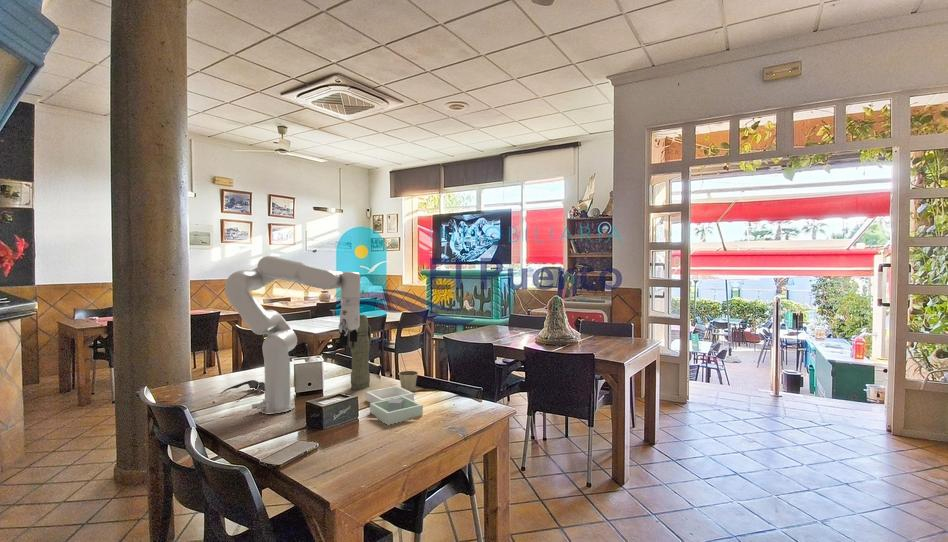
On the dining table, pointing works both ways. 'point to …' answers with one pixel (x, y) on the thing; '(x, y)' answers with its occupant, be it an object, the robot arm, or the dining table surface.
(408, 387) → the flower pot
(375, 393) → the bin
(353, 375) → the olive green tall block
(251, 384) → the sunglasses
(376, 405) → the bin
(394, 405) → the gray cube
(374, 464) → the dining table surface
